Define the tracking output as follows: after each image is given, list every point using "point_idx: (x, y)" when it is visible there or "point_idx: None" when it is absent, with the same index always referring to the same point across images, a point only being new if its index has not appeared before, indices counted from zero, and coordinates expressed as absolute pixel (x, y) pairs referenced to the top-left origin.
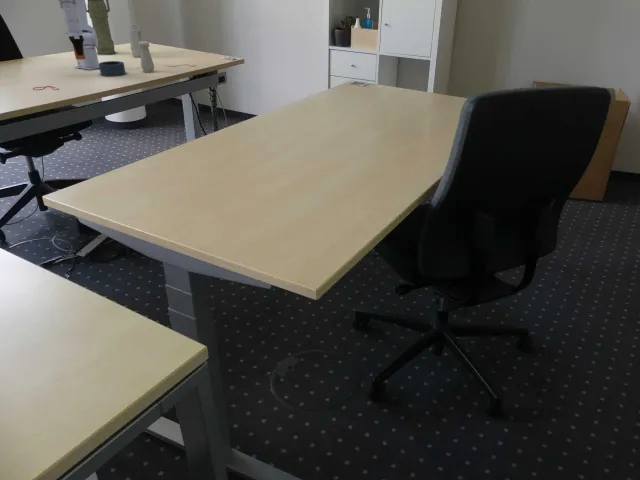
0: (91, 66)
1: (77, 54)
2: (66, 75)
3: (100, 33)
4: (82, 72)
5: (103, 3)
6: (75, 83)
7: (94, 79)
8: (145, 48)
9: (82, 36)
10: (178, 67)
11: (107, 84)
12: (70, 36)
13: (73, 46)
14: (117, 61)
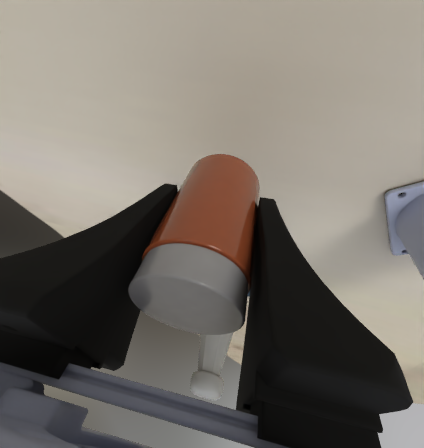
0: (405, 215)
1: (159, 187)
2: (314, 10)
3: None
4: (347, 144)
5: None
6: (40, 52)
7: (136, 160)
8: (198, 368)
9: (236, 406)
10: (244, 337)
11: (47, 180)
12: (362, 397)
13: (173, 226)
14: (249, 292)
